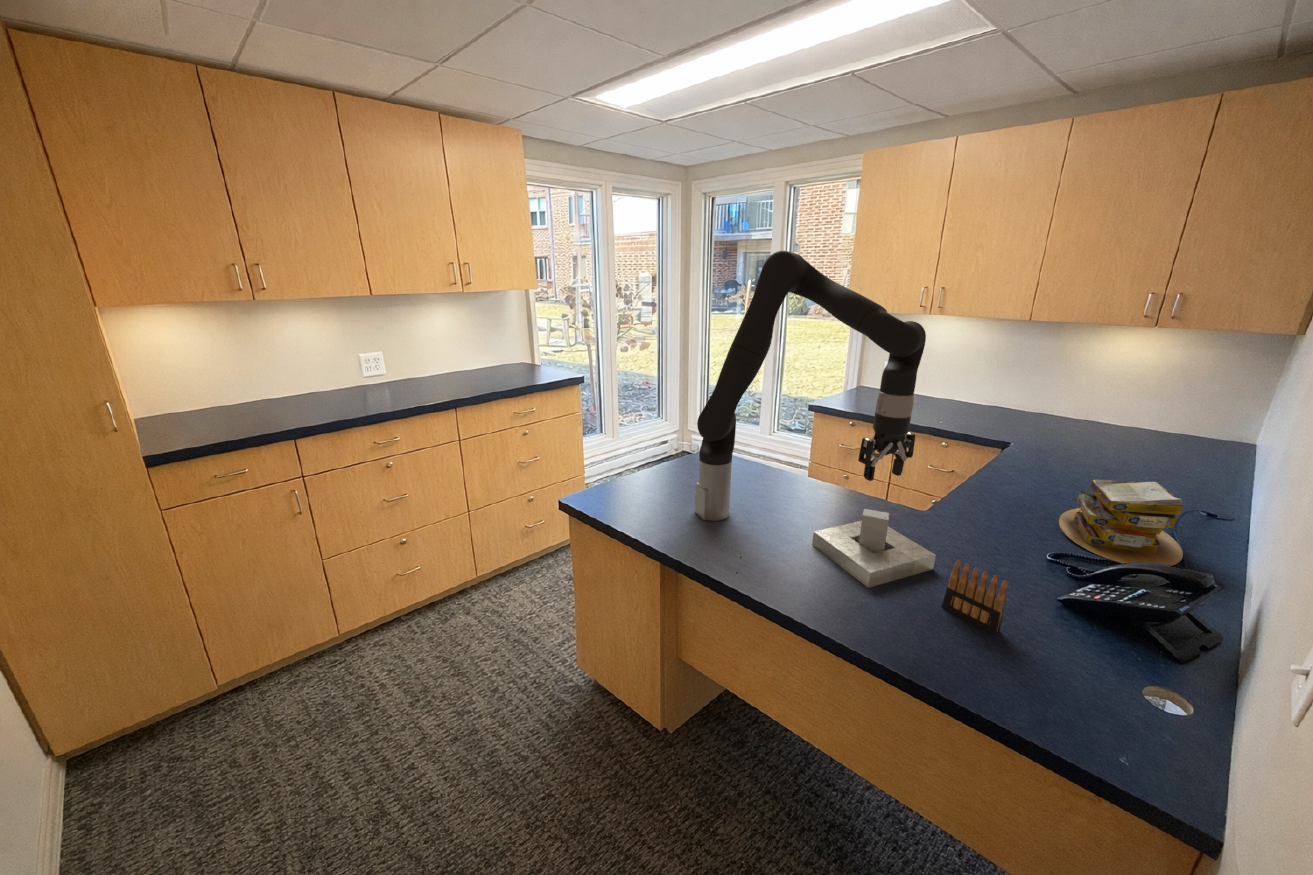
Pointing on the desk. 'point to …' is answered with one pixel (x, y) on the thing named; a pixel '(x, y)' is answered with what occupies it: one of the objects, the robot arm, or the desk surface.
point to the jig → (866, 566)
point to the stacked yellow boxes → (1125, 522)
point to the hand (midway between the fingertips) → (882, 477)
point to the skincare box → (874, 530)
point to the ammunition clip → (975, 598)
